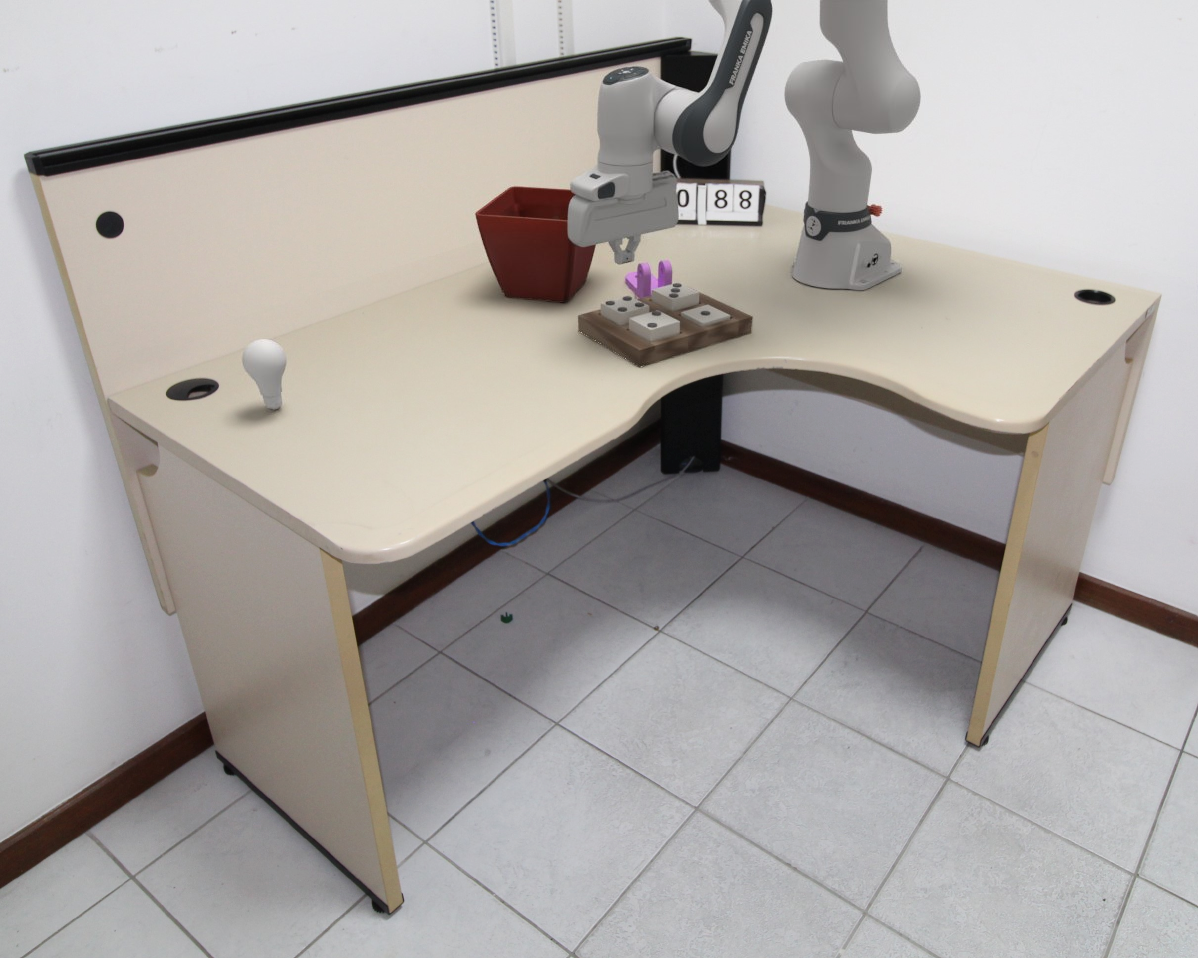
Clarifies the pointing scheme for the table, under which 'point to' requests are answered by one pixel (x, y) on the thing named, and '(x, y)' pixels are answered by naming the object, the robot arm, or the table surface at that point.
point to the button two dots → (654, 326)
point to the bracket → (649, 278)
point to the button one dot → (705, 315)
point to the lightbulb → (266, 369)
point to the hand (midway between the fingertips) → (624, 262)
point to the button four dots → (623, 309)
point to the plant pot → (533, 244)
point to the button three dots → (675, 297)
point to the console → (672, 346)
